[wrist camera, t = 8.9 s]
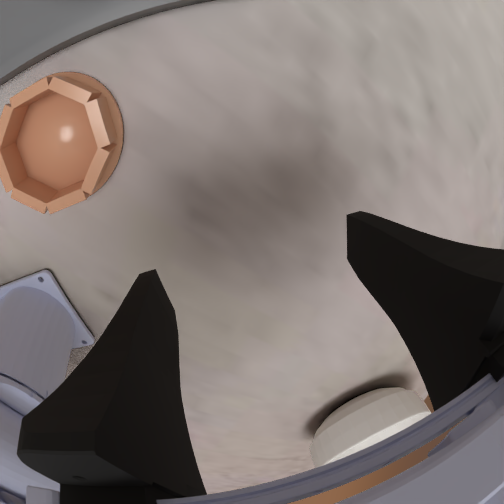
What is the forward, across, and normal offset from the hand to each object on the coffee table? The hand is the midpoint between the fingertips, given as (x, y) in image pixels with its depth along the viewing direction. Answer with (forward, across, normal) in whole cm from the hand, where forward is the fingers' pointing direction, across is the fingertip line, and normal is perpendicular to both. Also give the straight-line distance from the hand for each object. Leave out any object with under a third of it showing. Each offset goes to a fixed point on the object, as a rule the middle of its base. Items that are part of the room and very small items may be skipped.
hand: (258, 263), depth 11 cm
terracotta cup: (+9, +9, -6) cm, 14 cm away
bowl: (+10, -12, +41) cm, 44 cm away
